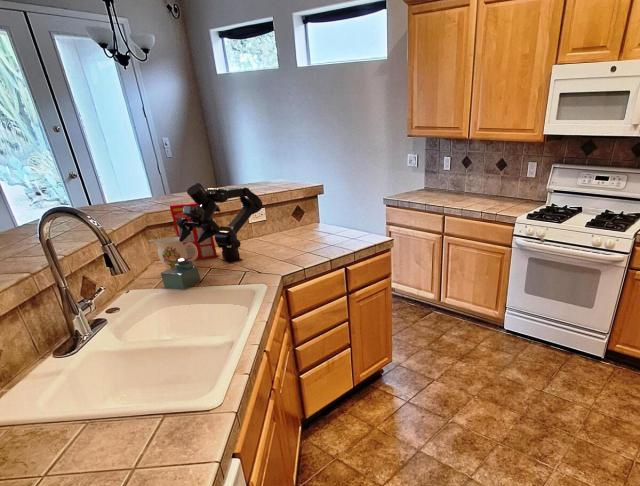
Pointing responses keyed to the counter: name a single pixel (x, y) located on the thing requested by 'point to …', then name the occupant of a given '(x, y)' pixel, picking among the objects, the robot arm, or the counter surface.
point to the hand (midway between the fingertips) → (189, 242)
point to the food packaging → (193, 234)
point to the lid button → (183, 261)
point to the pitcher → (172, 250)
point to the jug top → (181, 276)
